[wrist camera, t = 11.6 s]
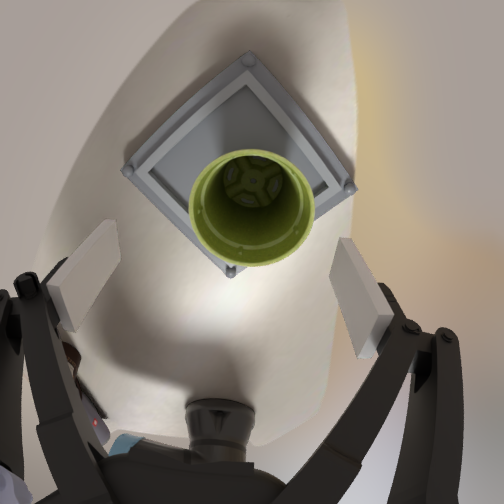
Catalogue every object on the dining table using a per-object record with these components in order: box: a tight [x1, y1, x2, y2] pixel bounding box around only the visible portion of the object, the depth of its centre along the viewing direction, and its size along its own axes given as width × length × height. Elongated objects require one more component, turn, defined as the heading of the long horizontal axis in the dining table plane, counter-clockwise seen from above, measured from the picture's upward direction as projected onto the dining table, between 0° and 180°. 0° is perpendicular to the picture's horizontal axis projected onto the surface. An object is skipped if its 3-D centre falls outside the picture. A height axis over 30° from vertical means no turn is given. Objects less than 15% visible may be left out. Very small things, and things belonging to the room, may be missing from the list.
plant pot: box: [189, 149, 315, 267], centre depth 25 cm, size 9×9×9 cm
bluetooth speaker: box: [77, 389, 110, 446], centre depth 54 cm, size 23×9×10 cm, turn 179°
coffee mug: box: [61, 341, 82, 401], centre depth 43 cm, size 12×9×10 cm
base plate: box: [120, 50, 358, 279], centre depth 29 cm, size 18×18×2 cm
